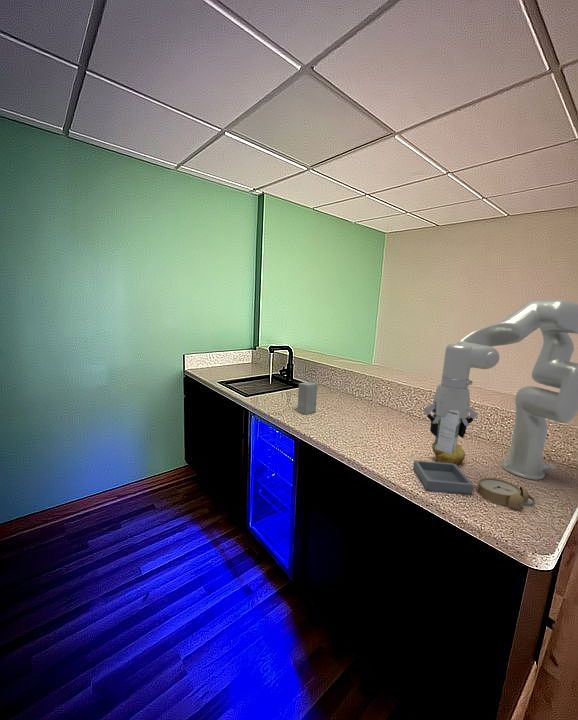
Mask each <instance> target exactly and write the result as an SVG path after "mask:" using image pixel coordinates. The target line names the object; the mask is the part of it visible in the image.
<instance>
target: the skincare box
mask: <svg viewBox="0 0 578 720" xmlns="http://www.w3.org/2000/svg"><path fill="white" fill-rule="evenodd" d="M317 392H318V383H314V382H310V381H307V382H305V381H304V382H300V383H298V393H297V395H298V396H297V397H298V398H297V412H299V413H300V414H303V415H305V416H307V415H310V414H314V413H316V412H317V398H318V393H317Z"/></svg>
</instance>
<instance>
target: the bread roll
mask: <svg viewBox="0 0 578 720" xmlns="http://www.w3.org/2000/svg"><path fill="white" fill-rule="evenodd" d="M431 448H432V452H433V453H434V455H435V460H436V462H442V463H453V464H456V466H458V465H459V464H462V463H464V461H465V457H466V452H465V451H464V448H462V446H461V445H460V444H458V443H457V447H456V450H455V451H454V452H453V453H452V454H449V453H446V452H442V451H439V450H436V449H434V442H433V443H432V447H431Z"/></svg>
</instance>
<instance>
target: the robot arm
mask: <svg viewBox="0 0 578 720" xmlns="http://www.w3.org/2000/svg"><path fill="white" fill-rule="evenodd" d="M537 329H539V330H540V331H541V334H542V338H543V342H542V343H543V344H542V346H541V349H540V352H539V355H538V357H537V359H536V361H535V364H534V366H533V369H532V372H531V378H532V380H533V381H534V382H536V383H537V384H540V385H543V386H546V387H551V388H553V389H554V388H555V389H559V392H557V391H554V390H550V389H545V388H542V387H538V386H532V385H531V386H524V387H521V388H519V389H518V391H517V392H516V395H515V398H514V399H515V401H514V403H515V416H514V417H515V418H514V419H515V420H514V424H513V430H512V436H511V442H510V447H509V452H508V453H509V454H508V459H507V460H503V461H502V464H501V466H502V468H503V469H504V470H505V471H507V472H508V473H511V474H512V475H515V476H516V477H520V478H524V479H528V480H535V481H536V480H543V479H544V478H545V472H544V471H546V470H547V471H555V468H556V467H555V465H553V464H546V461H542V459H543V454H544V450H545V445H546V439H547V434H548V424H547V421H546V419H547V420H550V421H553V422H555V423H559V424H566V423H569V422H571V421H573V419H574V418H575V417H576V416H577V414H578V362H574V361H571V358H572V356H573V354H574V349H575V345H574V342H573V340H572V338H571V336H570V335H569V334H578V302H573V301H569V300H566V299H565V300H564V299H536V300H530V301H528V302H526V303H524V304H523V305H521V306H520V307H519V308H518V309H516V310H515V311H513V312H512V313H511V314H509V315H508V316H506V317H505V318H504V319H503V320H501V321H499V322H496V323H493V324H490V325H488V326H484V327H483V328H480V329H477V330H475V331H472V332H470V333H468V334H467V335H465V336H464V337H463V338H461V339H460V340H459V341H458V342H457V343H449V344H447V346H446V347H445V352H444V358H443V367H442V375H441V383H440V384H438V385H437V386H436V390H435V392H434V396H433V402H432V404H430V405H428V406H427V407H424V408H423V409H422V410H423V412H424V414H425V415H426V417H427V419H429V421H430V429H429V431H430V432H431V434H432V435H433V436H436V435H437V429H438V424H437V422H438V421H439V419H440V418H441V417H442V418H443V417H446V415H447V413H448V411H449V409H453V410H459V411H460V417H459V419H461V422H460V428H459V434H458V437H460V438H461V439H462V438H463V439H464V438H465V435H466V434H467V433H466V432H467V427H469V424H471V423H472V422H473V421H474V420H475V419H476V418H477V417H478V416H479V414H478V413H477V412H476V411H475V410H473V409H472V408H471V407H470V406H471V405H470V403H471V398H470V396H471V394H470V393H471V392H470V389H469V386H472V385H473V380H470V371H471V368H472V369H473V368H474V369H480V370H488V369H492V368H494V367H495V366H496V365H497V364H498V363H499V361H500V353H499V352H498V350H497V349H496V348H494V347H497V346H508V345H512V344H517V343H519V342H522V341H523V340H524V339H525V338H527V337H528V336H529V335H530V334H533V332H535V331H537ZM431 412H432V413H433V414H431Z"/></svg>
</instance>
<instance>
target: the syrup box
mask: <svg viewBox="0 0 578 720" xmlns="http://www.w3.org/2000/svg"><path fill="white" fill-rule="evenodd" d="M459 417H460V411H459V410H453V409H449V411H448V413H447V415H446V417H443V418H442V417H441V418H440V419H439V421H438V422H437V424H438V429H437V435H436V436H435V437H434V442H433V443H434V449H436V450H439V451H442V452H446V453H449V454H452V453H453V452H454V451H455V450H456V447H457V444H458V438H459V435H458V434H459V428H460V423H461V419H459Z"/></svg>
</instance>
